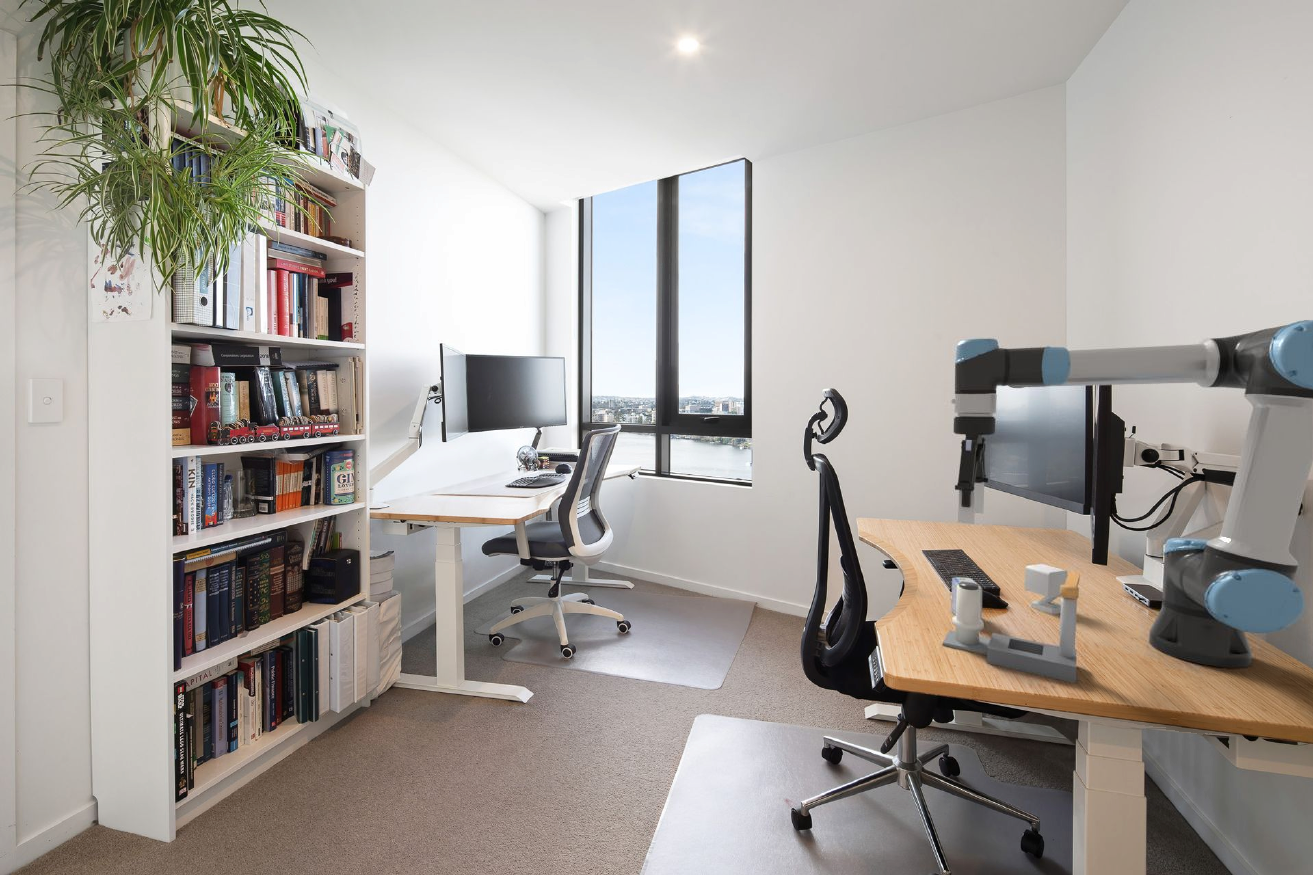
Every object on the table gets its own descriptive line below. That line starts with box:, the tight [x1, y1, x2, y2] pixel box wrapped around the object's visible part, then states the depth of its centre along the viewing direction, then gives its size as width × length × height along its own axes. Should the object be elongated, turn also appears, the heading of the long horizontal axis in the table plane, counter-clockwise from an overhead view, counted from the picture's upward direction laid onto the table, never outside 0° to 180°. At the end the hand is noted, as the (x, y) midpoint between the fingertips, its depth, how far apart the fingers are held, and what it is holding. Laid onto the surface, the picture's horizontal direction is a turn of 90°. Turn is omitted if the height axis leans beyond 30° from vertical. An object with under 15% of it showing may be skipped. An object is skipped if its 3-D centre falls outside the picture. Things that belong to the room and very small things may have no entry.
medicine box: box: [950, 576, 983, 621], centre depth 135 cm, size 8×4×9 cm, turn 168°
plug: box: [951, 582, 985, 645], centre depth 121 cm, size 6×6×12 cm
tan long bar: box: [1060, 571, 1081, 600], centre depth 113 cm, size 14×3×4 cm, turn 141°
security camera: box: [1024, 563, 1069, 615], centre depth 142 cm, size 6×7×10 cm
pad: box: [942, 630, 991, 656], centre depth 121 cm, size 8×8×1 cm
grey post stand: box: [986, 596, 1078, 684], centre depth 111 cm, size 14×9×14 cm, turn 54°
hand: (971, 517), depth 120 cm, fingers open, 13 cm apart
